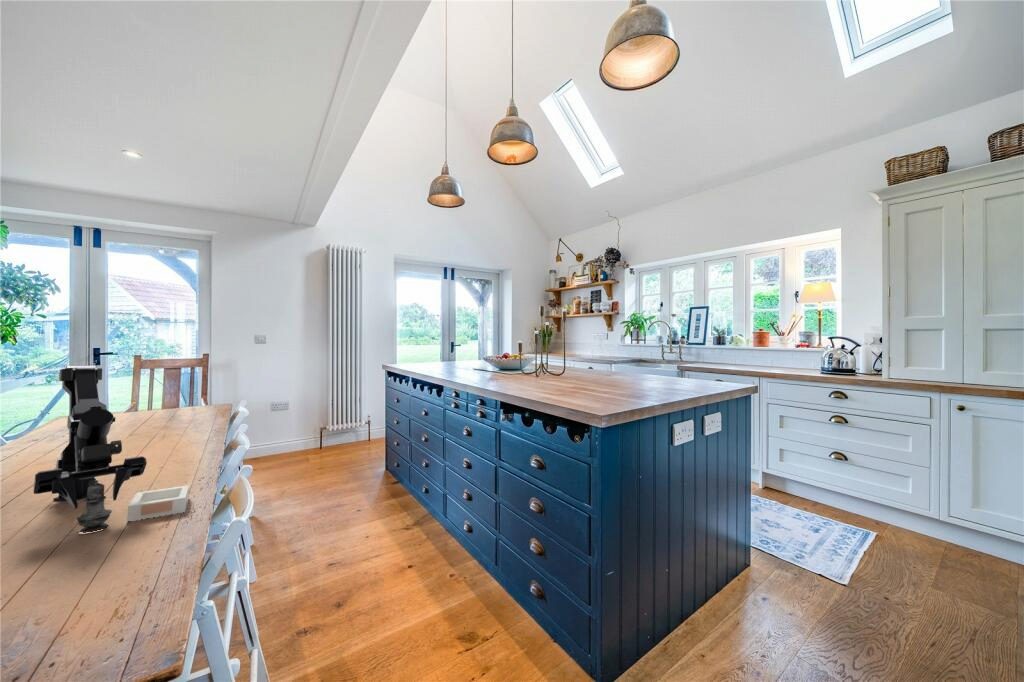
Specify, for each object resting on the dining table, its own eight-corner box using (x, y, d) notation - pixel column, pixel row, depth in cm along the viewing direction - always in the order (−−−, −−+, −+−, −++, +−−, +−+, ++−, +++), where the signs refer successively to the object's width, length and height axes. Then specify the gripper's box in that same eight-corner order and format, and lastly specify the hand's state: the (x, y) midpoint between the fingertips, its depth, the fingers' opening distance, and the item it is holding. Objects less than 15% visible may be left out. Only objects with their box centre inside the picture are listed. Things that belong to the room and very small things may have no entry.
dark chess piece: (86, 536, 89) (90, 485, 90) (68, 533, 90) (71, 482, 91) (117, 525, 95) (120, 477, 95) (99, 522, 96) (102, 475, 96)
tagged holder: (126, 522, 96) (127, 507, 96) (136, 507, 106) (137, 492, 106) (184, 512, 103) (185, 498, 103) (188, 498, 112) (189, 485, 112)
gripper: (37, 437, 88) (37, 497, 81) (147, 426, 103) (155, 475, 96) (33, 464, 92) (33, 523, 86) (138, 450, 108) (145, 498, 101)
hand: (96, 503), depth 92 cm, fingers open, 6 cm apart
